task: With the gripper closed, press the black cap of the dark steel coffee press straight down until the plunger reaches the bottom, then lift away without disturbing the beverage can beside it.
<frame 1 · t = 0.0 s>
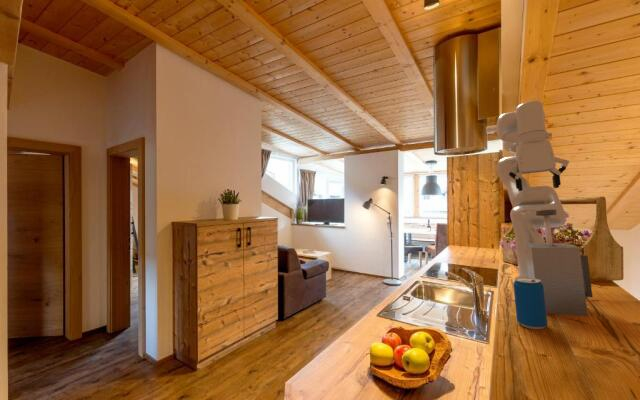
hand: (537, 189, 94), 37 cm above the worktop, tool pointing down, fingers open, 9 cm apart
press: (556, 307, 85), on the worktop
beverage can: (532, 326, 74), on the worktop
plunger: (549, 241, 86), point 20 cm above the worktop, slide at 9.0 cm
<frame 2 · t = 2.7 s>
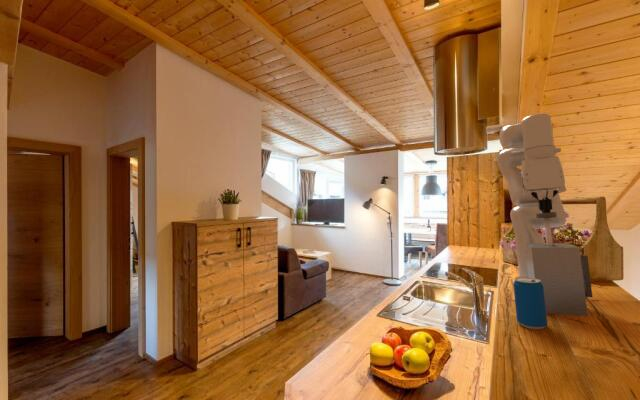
hand: (546, 212, 87), 29 cm above the worktop, tool pointing down, fingers closed
plunger: (549, 243, 86), point 19 cm above the worktop, slide at 8.2 cm, touching gripper
everything else where it was.
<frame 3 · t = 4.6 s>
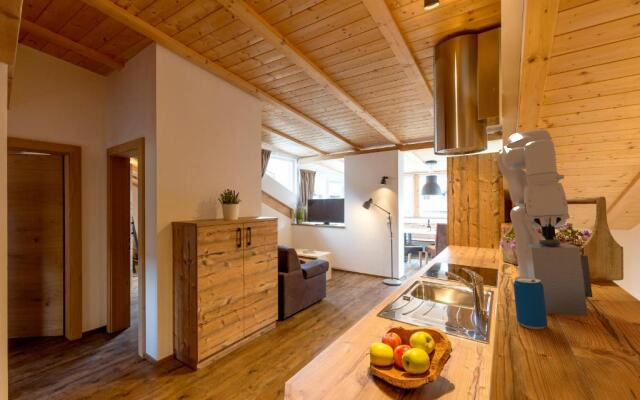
hand: (549, 239, 86), 21 cm above the worktop, tool pointing down, fingers closed
plunger: (552, 270, 86), point 11 cm above the worktop, slide at 0.0 cm, touching gripper
everything else where it was.
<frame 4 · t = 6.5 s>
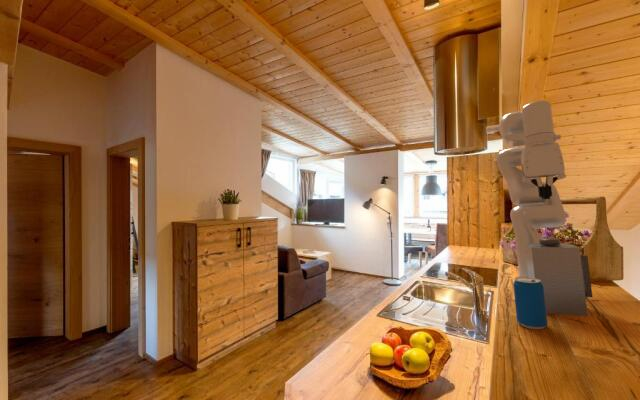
hand: (545, 199, 88), 33 cm above the worktop, tool pointing down, fingers closed
plunger: (552, 270, 86), point 11 cm above the worktop, slide at 0.0 cm
everything else where it was.
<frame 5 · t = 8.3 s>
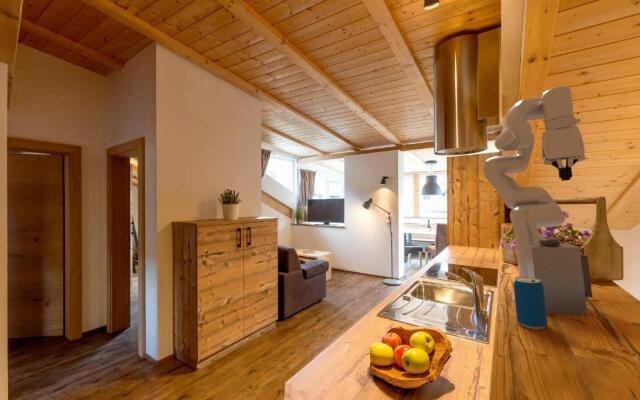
hand: (566, 180, 92), 39 cm above the worktop, tool pointing down, fingers closed
nothing on the worktop moved.
at the end: plunger slide at 0.0 cm; beverage can moved 0.2 cm from its start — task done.
